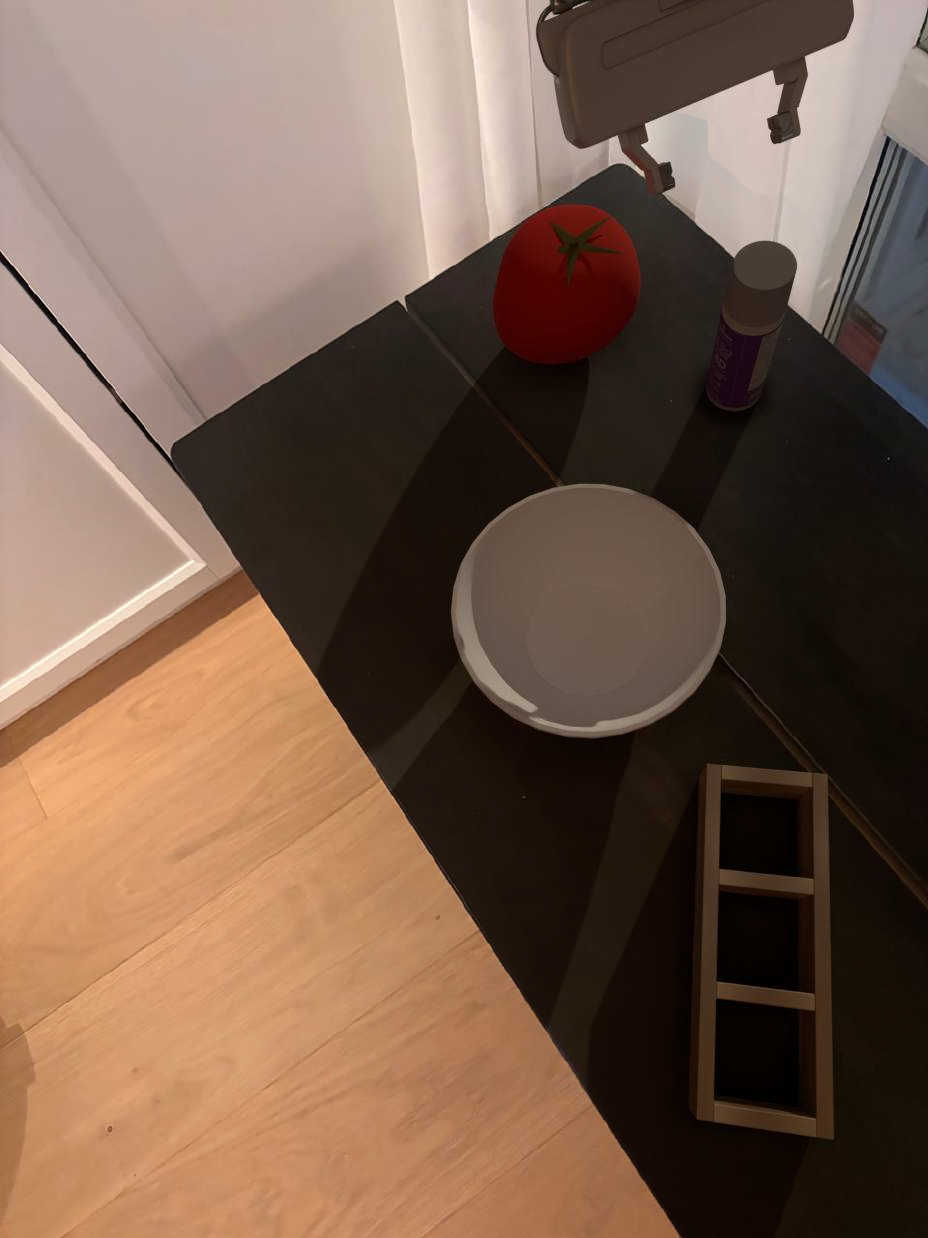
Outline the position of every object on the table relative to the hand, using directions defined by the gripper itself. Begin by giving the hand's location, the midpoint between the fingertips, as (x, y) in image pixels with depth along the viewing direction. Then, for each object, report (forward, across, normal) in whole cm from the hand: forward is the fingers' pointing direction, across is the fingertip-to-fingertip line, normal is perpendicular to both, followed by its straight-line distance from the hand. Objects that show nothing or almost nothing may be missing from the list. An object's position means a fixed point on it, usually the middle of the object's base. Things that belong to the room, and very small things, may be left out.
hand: (724, 165), depth 65 cm
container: (+18, -1, +7) cm, 19 cm away
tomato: (+10, -11, +15) cm, 21 cm away
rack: (+45, -19, -24) cm, 55 cm away
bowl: (+29, -21, -6) cm, 36 cm away
